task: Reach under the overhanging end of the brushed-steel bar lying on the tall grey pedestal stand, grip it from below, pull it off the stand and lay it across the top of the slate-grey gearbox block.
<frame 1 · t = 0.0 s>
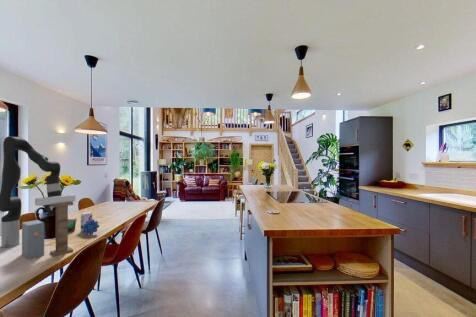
hand: (57, 214, 165), 22 cm above the table, tool pointing down, fingers open, 8 cm apart
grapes: (91, 234, 194), on the table
food container: (67, 231, 202), on the table
supplement can: (86, 231, 203), on the table
steel spout bar: (56, 203, 154), point 32 cm above the table, touching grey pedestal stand
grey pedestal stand: (61, 252, 157), on the table
grey gearbox: (33, 254, 153), on the table
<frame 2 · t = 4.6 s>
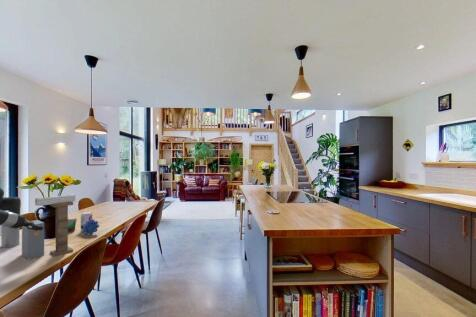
hand: (37, 226, 146), 19 cm above the table, tool tilted 65°, fingers open, 8 cm apart
nothing on the table moved.
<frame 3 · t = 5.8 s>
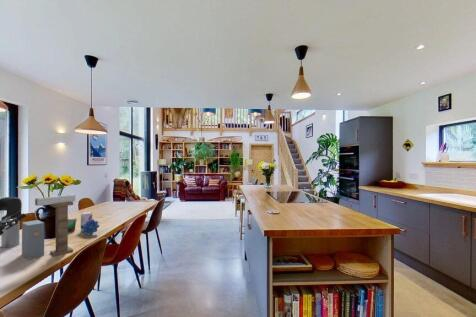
hand: (23, 213, 141), 28 cm above the table, tool pointing upward, fingers open, 8 cm apart
nothing on the table moved.
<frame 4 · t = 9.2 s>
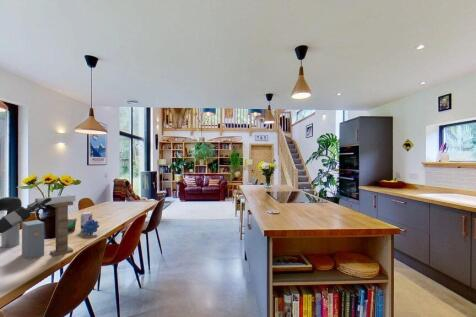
hand: (49, 198, 151), 35 cm above the table, tool pointing upward, fingers closed on steel spout bar, 4 cm apart
steel spout bar: (56, 203, 154), point 32 cm above the table, touching gripper, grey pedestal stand
everything else where it was.
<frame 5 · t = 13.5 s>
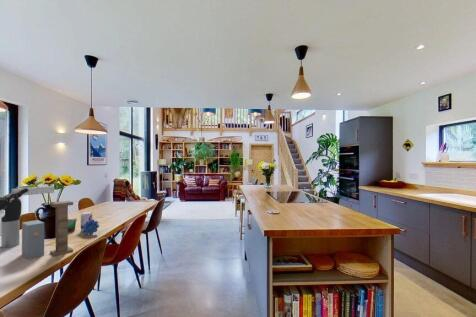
hand: (26, 189, 150), 41 cm above the table, tool pointing upward, fingers closed on steel spout bar, 4 cm apart
steel spout bar: (33, 194, 153), point 38 cm above the table, touching gripper
everything else where it was.
when the fingers open (26 cm above the table, at t = 17.8 s): steel spout bar drops 2 cm, resting on grey gearbox.
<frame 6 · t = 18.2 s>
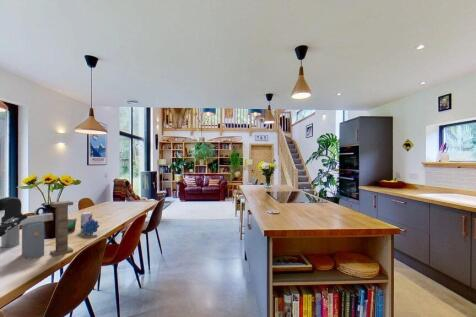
hand: (24, 215, 150), 26 cm above the table, tool pointing upward, fingers open, 7 cm apart
steel spout bar: (32, 222, 153), point 20 cm above the table, touching grey gearbox
everything else where it was.
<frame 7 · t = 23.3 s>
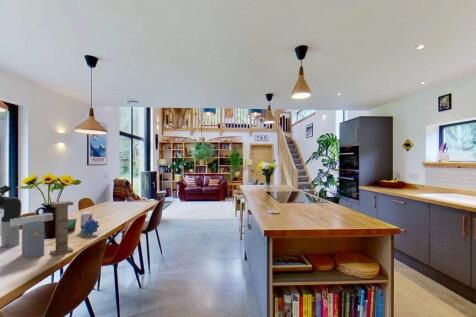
hand: (9, 186, 147), 43 cm above the table, tool pointing upward, fingers open, 8 cm apart
nothing on the table moved.
at the end: steel spout bar inside the target area on the grey gearbox (0.3 cm from its centre), point 20.0 cm above the grey gearbox's base; steel spout bar touching grey gearbox; the gripper is holding nothing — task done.
